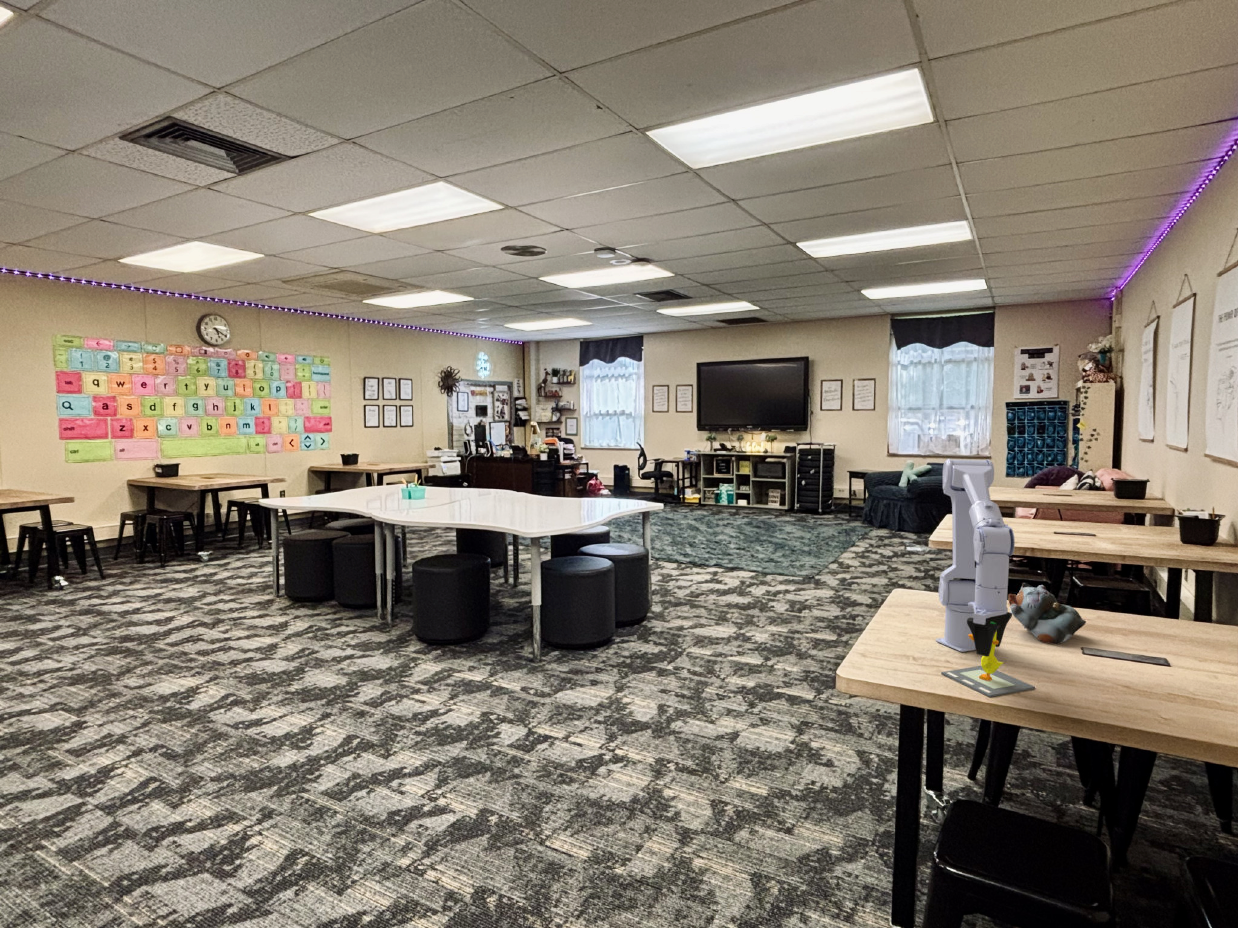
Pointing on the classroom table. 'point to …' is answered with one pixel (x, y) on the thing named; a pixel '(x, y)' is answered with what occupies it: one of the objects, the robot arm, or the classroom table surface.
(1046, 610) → the lucky cat figurine
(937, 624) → the classroom table surface
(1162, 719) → the classroom table surface
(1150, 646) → the classroom table surface
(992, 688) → the display panel
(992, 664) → the toy figure
